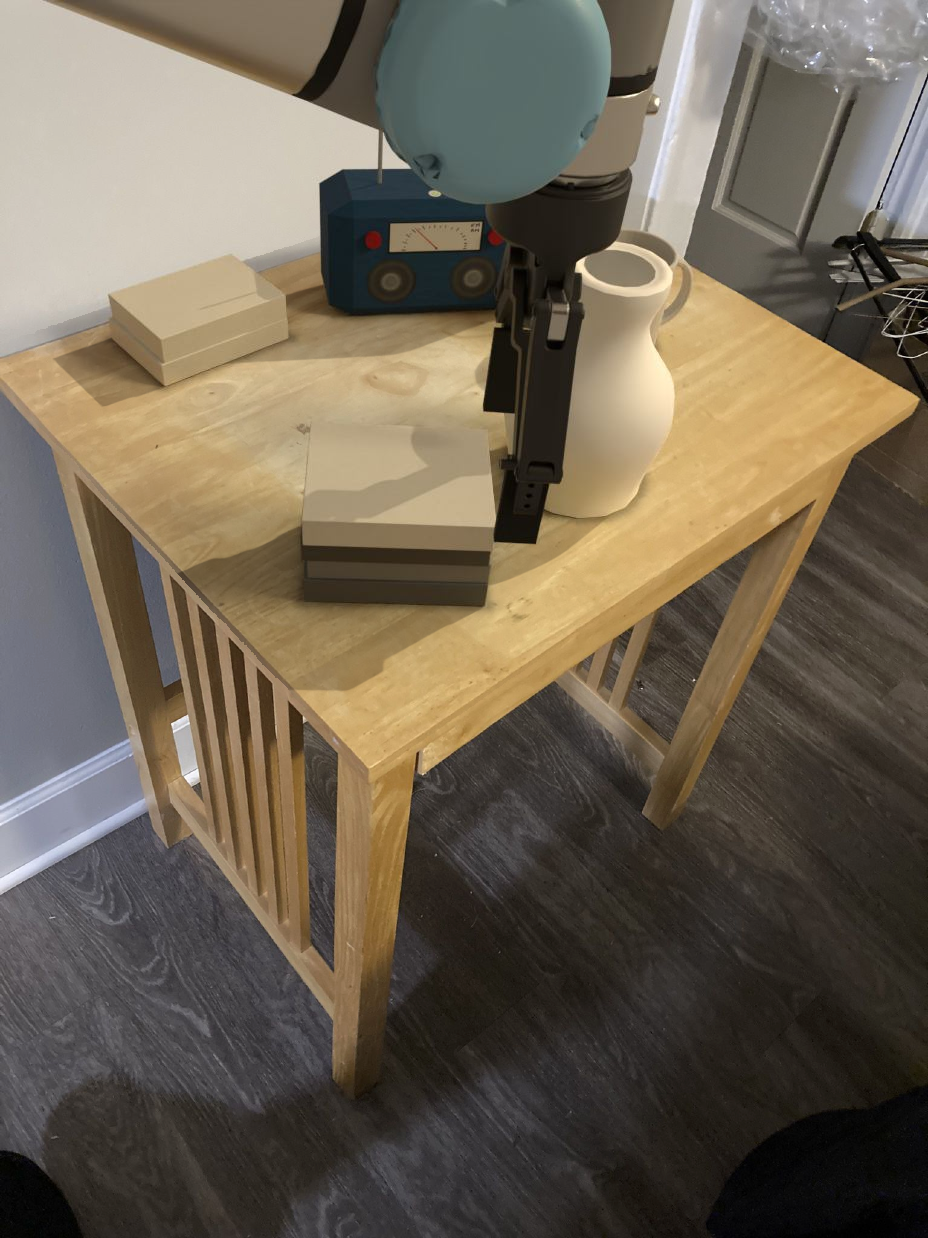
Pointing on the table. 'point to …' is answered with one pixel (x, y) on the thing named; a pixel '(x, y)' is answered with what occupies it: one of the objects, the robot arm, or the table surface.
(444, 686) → the table surface
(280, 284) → the table surface
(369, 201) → the radio
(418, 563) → the dark brown box
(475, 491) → the beige flat block
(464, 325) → the table surface
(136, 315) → the beige rectangular block
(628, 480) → the vase
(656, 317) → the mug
